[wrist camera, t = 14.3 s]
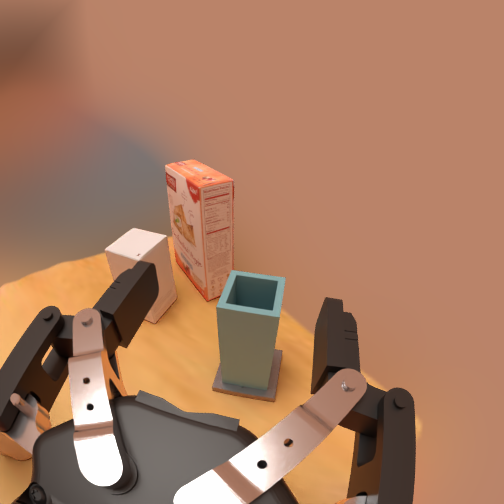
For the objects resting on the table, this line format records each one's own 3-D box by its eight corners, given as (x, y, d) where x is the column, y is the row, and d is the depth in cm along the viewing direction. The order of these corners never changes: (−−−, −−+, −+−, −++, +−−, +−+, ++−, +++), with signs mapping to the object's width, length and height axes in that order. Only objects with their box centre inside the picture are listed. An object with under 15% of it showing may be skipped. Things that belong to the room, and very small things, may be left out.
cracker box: (174, 263, 56) (163, 163, 44) (200, 254, 59) (195, 157, 47) (205, 303, 46) (197, 185, 35) (235, 291, 49) (236, 177, 38)
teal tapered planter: (266, 390, 32) (279, 317, 24) (222, 382, 33) (216, 307, 25) (273, 355, 37) (285, 277, 29) (232, 348, 37) (231, 269, 30)
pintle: (273, 401, 31) (281, 370, 27) (212, 390, 32) (207, 357, 28) (281, 354, 38) (288, 317, 34) (227, 345, 39) (226, 307, 35)
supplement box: (178, 297, 47) (169, 234, 40) (154, 325, 41) (138, 260, 34) (146, 285, 49) (134, 226, 42) (122, 310, 43) (102, 248, 36)
